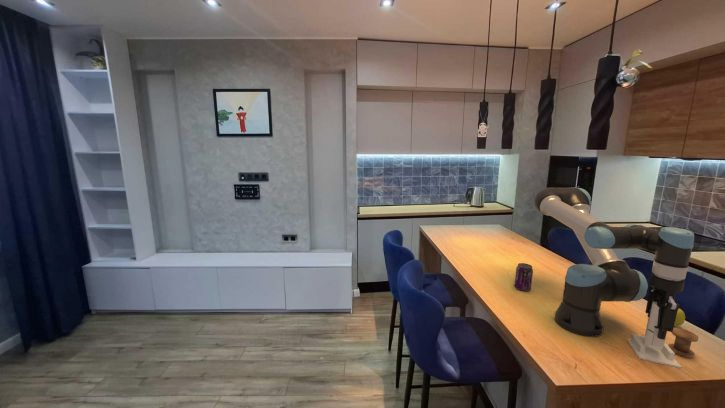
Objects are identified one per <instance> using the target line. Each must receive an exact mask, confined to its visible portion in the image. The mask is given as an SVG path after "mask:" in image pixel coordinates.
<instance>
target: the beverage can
mask: <svg viewBox="0 0 725 408" xmlns="http://www.w3.org/2000/svg"><path fill="white" fill-rule="evenodd" d="M515 269H516V270H515V276H514V277H515V278H514V287H515V288H516V289H517V290H519V291H522V292H528V291H531V289H532V282H533V273H534V269H533V265H531V264H528V263H523V262H521V263H517V266H516V268H515Z"/></svg>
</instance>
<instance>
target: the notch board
mask: <svg viewBox="0 0 725 408" xmlns="http://www.w3.org/2000/svg"><path fill="white" fill-rule="evenodd" d="M645 337H646V336H645V335H641V334H637V333H631V336H630V339H629V338H627V342H628V344H629V345H630V347H631V348H632V350H633V351H634V353H635V354H636V355H637V357H638V359H639V360H644V361H647V362H651V363H656V364H657V363H658V364H660V365H661V364H662V365H665V366H669V367H674V368H678V369H682V366H681V365H680V363H679V362H678V361H677V360H676V359H675V355H676V354H675V353H674V352H673V351H672V350H671V348H670V347H669V346H668V345H669V344H667V343H666V342H665V343H664V348H662V349H661V350H656V349H653V348H650V347H648V346H647V345H645V343H644V341H645Z"/></svg>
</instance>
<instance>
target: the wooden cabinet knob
mask: <svg viewBox="0 0 725 408" xmlns="http://www.w3.org/2000/svg"><path fill="white" fill-rule="evenodd" d="M670 333H671V334H672V335H673V336H675V338H674V343H672V342H671V343H668V344H667V345H668V346H669V347H670V348H671V350H672V351H673V352H674V353H675V355H677V356H679V357H682V358H685V359H693V358H694V357H695V352H694V351H693V350H692V349H691V346H692V342H693V343H695V342H698V340H699V336H698V335H697V334H696V333H694V332H692V331H689V330H688V329H684V328H679V327H674V328H673V332H670Z"/></svg>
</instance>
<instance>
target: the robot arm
mask: <svg viewBox="0 0 725 408" xmlns="http://www.w3.org/2000/svg"><path fill="white" fill-rule="evenodd" d="M591 200H592V197H591V195H590V193H589V192H588V191H587V190H586V189H584V188H581V187H575V186H572V187H571V186H570V187H552V186H551V187H544V188H542V189H540V190H539V191H538V192H536V194H534V198H533V205H534V207H535V209H536V210H537V211H538V212H539V213H541V214H542V215H545V216H547V217H548V216H550V217H552V218H554V220H557V221H558V222H559V223H561V224H563V225H565V226H566V227H568V228H569V229H571V230H573V232H574V234H575V236H576V238H577V239H578V242H580V243H579V244H580V245H581V246H582V248H583V250H584V252H585V254H586V255H587V257H588V259H589V260H590V263H591V264H586V263H578V264H573V265H571V266H569V267H567V270H566V274H565V277H564V287H563V292H562V299H561V300H562V301H561V303H559V306H558V307H557V309H556V310H555V312H554V320H555V323H556V324H558V325H559V326H560V327H561V328H562V329H565V330H567V331H568V332H570V333H573V334H577V335H579V336H580V335H581V336H585V337H598V336H602V334H603V331H604V324H603V321H602V316H601V306H602V302H611V303H612V302H625V303H630V302H637V301H641V300H642V299H644V297H646V295H647V292H648V296H647V297H648V298H647V301H646V302H647V303H646V307H645V314H647V323H646V328H645V333H644V336H646V332H647V327H648V322H649V317H650V313H651V308H652V303H653V301H654V302H657V306H658V307H659V312H658V323H657V326H654V327H655V330H654V335H653V339H652V346H657V347H662V348H664V343H666V339H667V333H668V332H670V333H671V332H673V328H675V326H674V323H675V319H676V315H677V311H678V309H681V308H680V306H681V305H680V304H679V303H676V302H675V301H676V294H677V293H681V292H683V291H684V287H685V279H686V276H687V273H688V272H689V271H690V269H689V262H690V258H691V256H692V251H693V249H694V244H695V243H694V242H695V233H694V232H693V231H691V230H688V229H685V228H678V227H674V226H673V227H670V226H665V227H661V228H660V230H657V229H655V228H651V227H647V226H646V225H645V226H644V225H641V224H635V223H629V224H627V225H624V226H611V225H608V224H606V223H604V222H603V221H600V220H598V219H596V218H595V217H593V216H592V215H591V214H590V211H591V206H592V201H591ZM614 249H618V250H619V249H624V250H625V249H627V250H629V249H640V250H644V251H647V252H650V253H653V254H654V258H653V263H652V268H651V272H652V273H651V274H650V278H649V284H650V285H648V281H647V279H646V277H645V274H644V273H643V272H641V271H639V270H637V269H632V268H630V266H629V265H628V263H627V261H625V260H623V259H619V258H618V256H617V254H616V253H615V251H614ZM648 286H649V287H648ZM648 288H649V289H648ZM665 305H666V306H665Z"/></svg>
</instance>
